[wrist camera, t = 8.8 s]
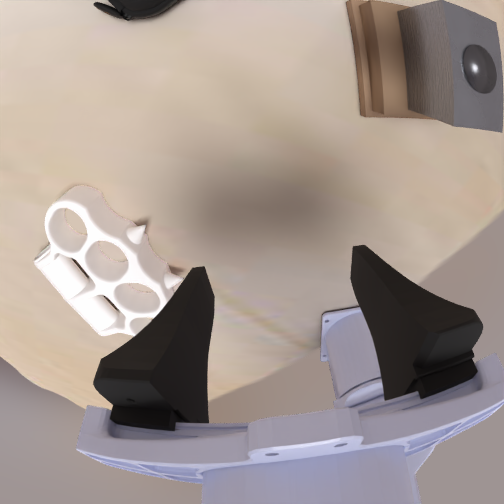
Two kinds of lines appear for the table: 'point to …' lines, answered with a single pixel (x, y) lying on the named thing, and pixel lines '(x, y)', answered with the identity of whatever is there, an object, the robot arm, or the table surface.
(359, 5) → the stand
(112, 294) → the white brass knuckles
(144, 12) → the carrying case or bag
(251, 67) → the table surface
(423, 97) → the block
